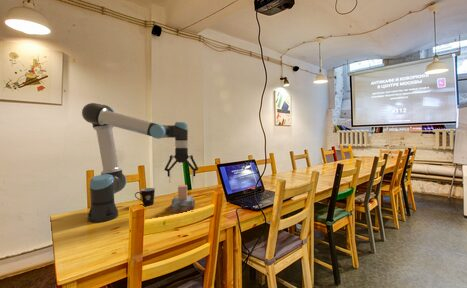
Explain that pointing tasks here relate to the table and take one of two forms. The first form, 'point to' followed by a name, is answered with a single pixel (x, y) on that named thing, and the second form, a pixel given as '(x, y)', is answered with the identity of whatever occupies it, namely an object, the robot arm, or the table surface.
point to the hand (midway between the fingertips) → (181, 181)
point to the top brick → (182, 192)
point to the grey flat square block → (182, 204)
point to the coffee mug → (147, 196)
